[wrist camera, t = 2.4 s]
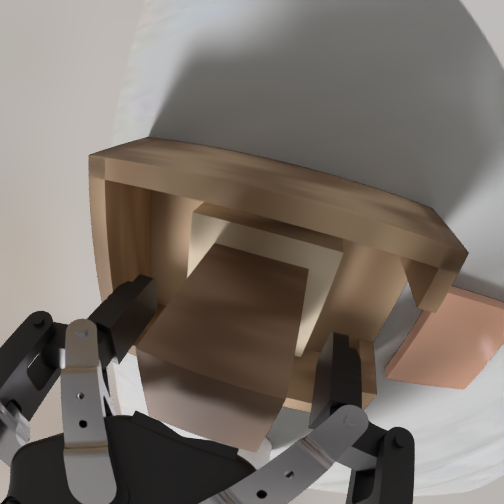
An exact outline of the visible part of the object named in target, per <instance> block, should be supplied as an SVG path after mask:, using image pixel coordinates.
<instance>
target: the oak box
mask: <svg viewBox="0 0 504 504" xmlns="http://www.w3.org/2000/svg"><path fill="white" fill-rule="evenodd" d="M89 196H90V213H91V225H92V237H93V246H94V255H95V263H96V270H97V277H98V283H99V289H100V295H101V301H102V302H103V301H104V300H105V299H107V297H108V296H109V295H110V294H112V292H113V291H114V290H115V289H116V288H117V287H118V286H119V285H121V284H123V283H125V282H127V281H130V282H133V281H134V280H135V278H136V277H137V276H138V275H140V274H143V275H146V276H149V277H152V278H155V279H156V280H157V310H156V313H155V315H154V316H153V318H152V319H151V321H150V322H149V323H148V325H147V326H146V327H145V329H144V330H143V332H142V333H141V334H140V336H139V337H138V338H137V340H136V341H135V343H134V344H133V345H132V347H131V348H130V350H129V351H128V353H130V354H133V355H135V356H137V355H136V349H135V348H136V347H137V346H138V344H139V343H140V341H141V340H142V339H143V337H144V336H145V334H146V333H147V332H148V330H149V329H150V328H151V326H152V325H153V323H154V322H155V321H156V319H157V318H158V317H159V315H160V314H161V313H162V311H163V310H164V309H165V307H166V306H167V304H168V303H169V302H170V300H171V299H172V298H173V296H174V295H175V294H176V292H177V291H178V290H179V288H180V287H181V286H182V284H183V283H184V282H185V280H186V279H187V278H188V277H189V275H190V274H191V273H192V271H193V270H194V269H195V267H196V266H197V265H198V263H199V262H200V261H201V260H202V258H203V257H204V256H205V254H206V253H207V252H208V250H209V249H210V248H211V247H212V245H213V244H214V243H217V244H221V245H224V246H228V247H231V248H235V249H239V250H242V251H246V252H249V253H253V254H257V255H260V256H264V257H268V258H271V259H275V260H278V261H282V262H286V263H289V264H293V265H296V266H300V267H304V268H307V269H309V271H308V278H307V285H306V291H305V298H304V304H303V310H302V316H301V322H300V328H299V334H298V340H297V345H296V351H295V356H294V361H293V367H292V372H291V377H290V382H289V387H288V392H287V397H286V400H285V402H284V404H283V406H284V407H289V408H293V409H297V410H302V411H306V412H311V406H312V398H313V390H314V382H315V373H316V365H317V361H318V358H319V355H320V353H321V351H322V349H323V347H324V345H325V343H326V341H327V339H328V337H329V335H330V333H331V332H332V331H333V332H337V333H341V334H346V335H348V336H349V348H353V349H356V350H357V352H358V354H359V356H360V358H361V374H362V377H361V379H362V410H364V409H365V408H366V407H367V406H368V404H369V403H370V402H371V401H372V400H373V399H374V398H375V396H376V395H377V387H376V370H375V357H374V346H373V342H374V340H375V338H376V337H377V335H378V333H379V332H380V330H381V328H382V326H383V325H384V323H385V321H386V320H387V318H388V316H389V314H390V312H391V311H392V309H393V307H394V305H395V303H396V301H397V300H398V298H399V296H400V294H401V292H402V290H403V288H404V286H405V284H406V282H407V280H408V282H409V285H410V288H411V291H412V294H413V297H414V300H415V303H416V306H417V308H418V309H422V310H425V311H429V312H433V313H436V312H437V310H438V309H439V307H440V305H441V304H442V302H443V300H444V299H445V297H446V295H447V293H448V292H449V290H450V288H451V286H452V284H453V283H454V281H455V279H456V277H457V275H458V273H459V271H460V269H461V267H462V265H463V264H464V262H465V259H466V257H467V255H468V253H469V252H468V251H467V250H466V249H465V247H464V246H463V245H462V243H461V242H460V241H459V240H458V238H457V237H456V236H455V235H454V233H453V232H452V231H451V230H450V228H449V227H448V226H447V225H446V224H445V222H444V221H443V220H442V219H441V218H440V217H439V215H438V214H437V213H436V212H435V211H434V210H433V209H432V208H430V207H427V206H425V205H422V204H419V203H417V202H414V201H411V200H408V199H406V198H403V197H400V196H397V195H394V194H391V193H388V192H385V191H382V190H379V189H376V188H373V187H370V186H367V185H364V184H360V183H357V182H354V181H351V180H347V179H344V178H341V177H337V176H334V175H330V174H327V173H323V172H319V171H316V170H312V169H308V168H304V167H301V166H297V165H293V164H289V163H285V162H280V161H276V160H272V159H268V158H263V157H259V156H254V155H250V154H245V153H240V152H235V151H230V150H225V149H220V148H215V147H209V146H203V145H198V144H192V143H186V142H179V141H173V140H166V139H159V138H151V137H146V138H142V139H139V140H135V141H132V142H128V143H125V144H121V145H118V146H115V147H111V148H108V149H105V150H102V151H99V152H96V153H93V154H90V155H89Z"/></svg>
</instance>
